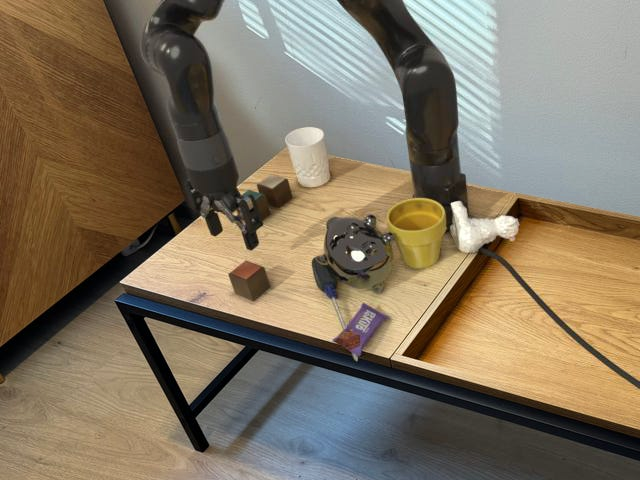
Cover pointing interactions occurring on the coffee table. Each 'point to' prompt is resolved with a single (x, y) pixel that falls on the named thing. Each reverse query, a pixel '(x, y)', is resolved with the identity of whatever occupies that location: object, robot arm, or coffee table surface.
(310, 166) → the white cup
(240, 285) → the red-topped brown block
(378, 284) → the piggy bank
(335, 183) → the coffee table surface
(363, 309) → the snack package
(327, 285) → the screwdriver
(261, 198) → the teal topped brown block
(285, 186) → the brown block
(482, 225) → the sitting furry creature
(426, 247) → the flower pot
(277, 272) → the coffee table surface
